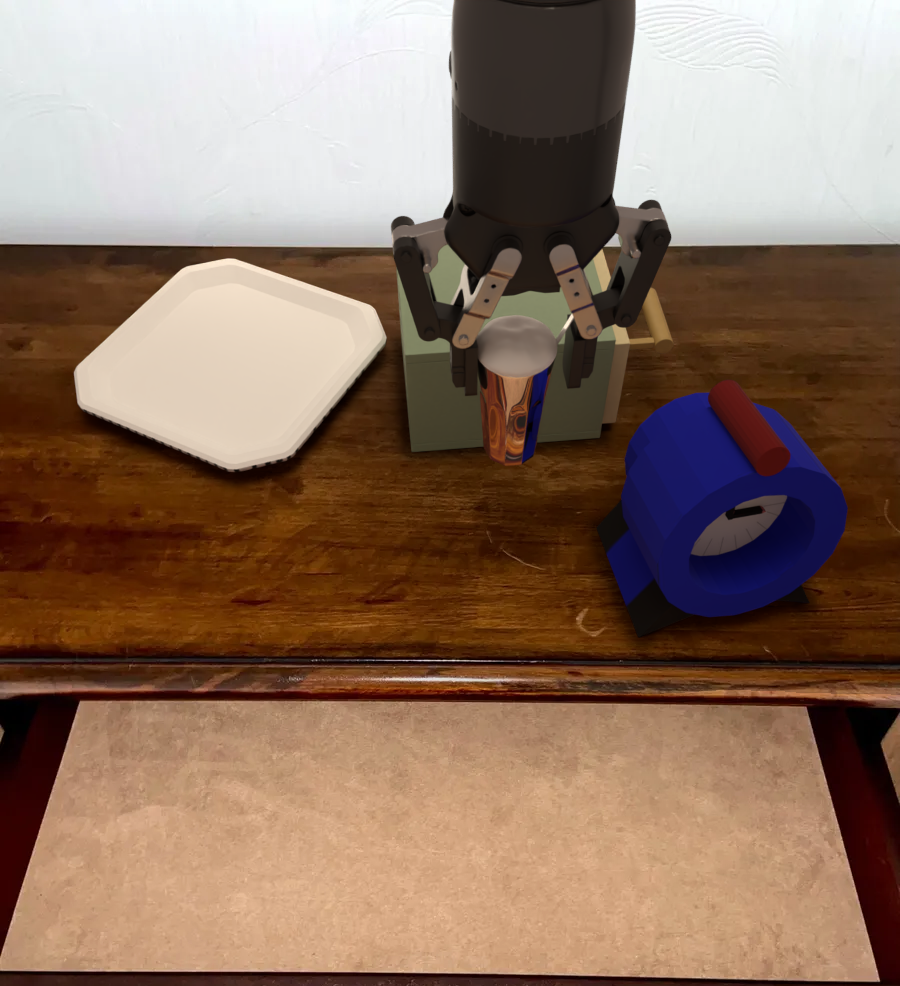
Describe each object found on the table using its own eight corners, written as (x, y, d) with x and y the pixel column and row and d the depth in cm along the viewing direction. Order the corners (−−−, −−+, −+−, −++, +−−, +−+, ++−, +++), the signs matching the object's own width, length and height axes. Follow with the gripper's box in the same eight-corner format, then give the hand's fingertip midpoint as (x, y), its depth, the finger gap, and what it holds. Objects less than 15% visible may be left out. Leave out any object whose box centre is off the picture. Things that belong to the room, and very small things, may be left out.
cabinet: (573, 330, 80) (585, 229, 72) (599, 438, 73) (616, 339, 65) (401, 342, 80) (394, 242, 72) (411, 452, 72) (404, 354, 65)
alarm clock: (641, 645, 62) (684, 496, 50) (587, 505, 69) (614, 344, 57) (814, 612, 64) (898, 459, 51) (745, 478, 71) (805, 315, 58)
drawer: (639, 321, 79) (655, 240, 73) (669, 419, 73) (689, 338, 66) (429, 336, 79) (426, 255, 72) (441, 436, 72) (438, 356, 66)
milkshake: (564, 471, 58) (581, 341, 49) (477, 477, 57) (479, 348, 49) (554, 418, 60) (568, 286, 52) (470, 423, 60) (471, 292, 52)
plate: (55, 412, 75) (45, 391, 74) (208, 267, 86) (203, 245, 84) (271, 502, 70) (266, 482, 68) (407, 336, 80) (406, 314, 78)
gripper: (375, 142, 38) (400, 439, 52) (727, 119, 39) (657, 419, 53) (367, 49, 42) (392, 347, 56) (684, 30, 43) (630, 330, 57)
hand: (520, 381), depth 54 cm, fingers closed on milkshake, 5 cm apart
